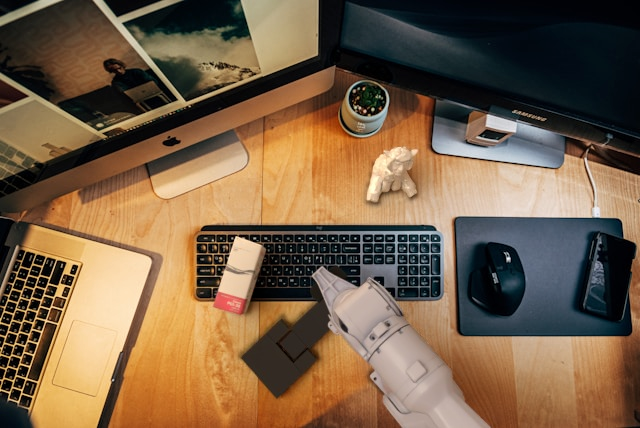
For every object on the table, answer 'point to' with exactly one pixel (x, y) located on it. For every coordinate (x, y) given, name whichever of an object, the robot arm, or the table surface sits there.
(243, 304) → the ink box
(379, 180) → the seated beast figurine
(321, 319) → the pad
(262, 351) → the base pad
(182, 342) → the table surface
